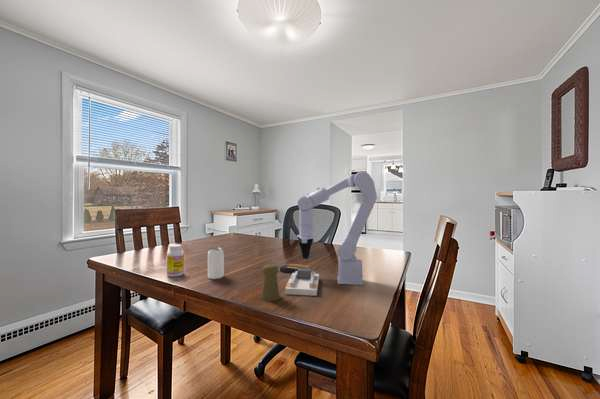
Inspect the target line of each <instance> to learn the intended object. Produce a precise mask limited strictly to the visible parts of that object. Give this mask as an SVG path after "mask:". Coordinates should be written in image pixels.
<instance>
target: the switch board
mask: <svg viewBox="0 0 600 399" xmlns="http://www.w3.org/2000/svg"><path fill="white" fill-rule="evenodd" d="M319 280H320V273H316V272H315V271H311V278H310V279H298V278H297V271H295V273H291V276H290V278H289V280H288V282H287V283H286V286H285V288H284V295H292V296H293V295H294V296H317V295H318V294H317V293H318V288H319Z"/></svg>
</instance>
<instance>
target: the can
mask: <svg viewBox="0 0 600 399" xmlns="http://www.w3.org/2000/svg"><path fill="white" fill-rule="evenodd" d="M224 253H225V251H224V250H223V247H211V248H208V252H207V278H208V279H209V280H220V279H221V278H223V277H224V275H225V273H224V272H225V262H224V261H225V260H224V259H225V258H224V257H225V254H224Z"/></svg>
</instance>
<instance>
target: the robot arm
mask: <svg viewBox="0 0 600 399" xmlns="http://www.w3.org/2000/svg"><path fill="white" fill-rule="evenodd" d="M347 188H358V189H359V191H360V193H361V196H362V197H363V200H362V202H361V204H360V206H359V208H358V210H357V213H356V215H355V217H354V220H353V223H352V224H351V227H350V229H349V230H348V233H347V236H346V238H345V239H344V241H343V243H342V244H341V245H339V247H338V249H337V255H338V257H337V259H338V260H337V261H338V263H337V264H338V267H337V268H338V273H337V274H338V276H336V279H337V281H336V282H337V284H338V285H354V286H355V285H356V286H357V285H358V286H363V277H364V276H363V274H364V273H363V261H362V259H358V258H357V257H356V253H357V251H358V250H357V248H358V247H357V245H358V242H359V239H360V237H361V234H362V233H363V230H364V228H365V227H366V224H367V222H368V219H369V217H370V215H371V212H372V210H373V208H374V206H375V204H376V201H377V199H378V196H377V191H376V185H375V182H374V179H373V178H372V177H371V175H370V174H369V172H366V171H363V170H361V171H358V172H357V173H356V174H355V173H353V174H350V175H349V176H348V175H347V176H346V177H344V178H343V179H341V180H339V181H337V182H336V183H333V184H332V185H330V186H329V187H327V188H325V187H317V188H316V190H315V191H313V192H311V193H307V194H306V195H302V196H301V197H300V198H299V199H298V200H297V207H298V209H299V211H298V213H299V216H298V218H299V219H298V221H299V222H298V224H299V230H298V231H299V232H298V233H299V234H297V235H296V238H299V239H300V240H299V241H298V245H299V247H300V251H301V256H302V259H305V260H308V259H309V257H310V253H311V248H312V247H311V246H312V244H313V241H314V220H313V218H314V214H313V213H314V211H313V210H314V208H315V207H317V206H319V205H321V204H323V203H325V202H327V201H329V200H330V197H331V195H334V194H336V193H338V192H340V191H342V190H344V189H347Z"/></svg>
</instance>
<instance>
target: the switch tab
mask: <svg viewBox="0 0 600 399" xmlns="http://www.w3.org/2000/svg"><path fill="white" fill-rule="evenodd" d="M311 274H312V268H311V267H310V268H299V269H298V271H297V278H298V279H310V278H311Z"/></svg>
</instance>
